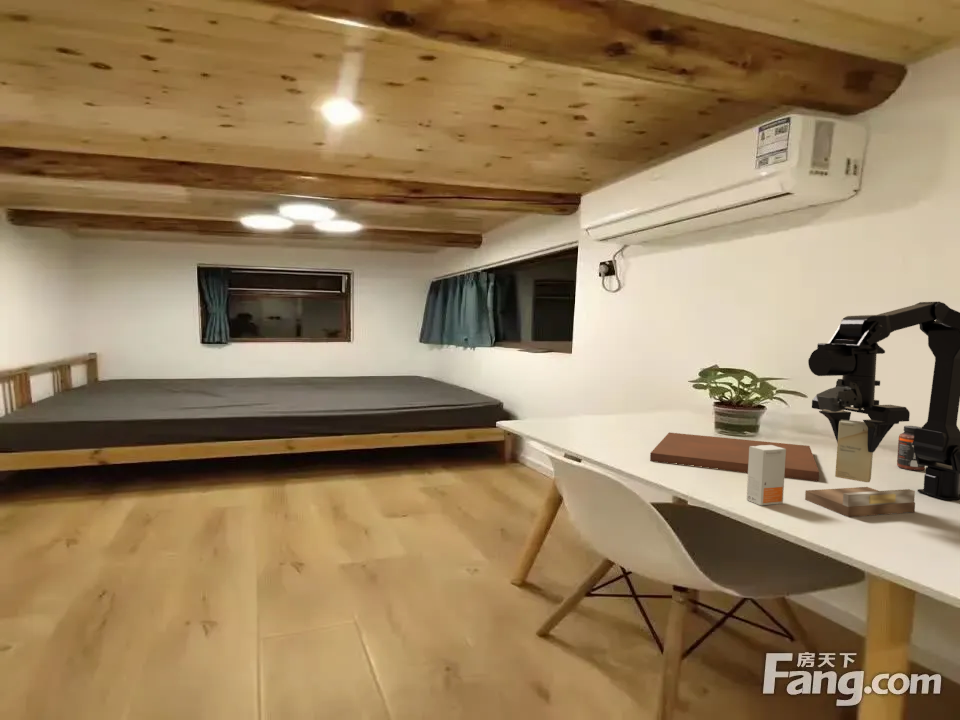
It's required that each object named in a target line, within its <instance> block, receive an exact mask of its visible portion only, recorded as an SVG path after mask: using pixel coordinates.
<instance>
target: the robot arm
mask: <svg viewBox="0 0 960 720" xmlns="http://www.w3.org/2000/svg"><path fill="white" fill-rule="evenodd" d="M914 326H919V330H921V332H923V333H924V334H925V336H927V345H928V348H929V350H930V351H931V353H932V355H933V356H934V368H933V375H932V382H931V389H930V390H931V391H930V399H929V406H928V413H927V420H926V422H925V423H924V425H922V426H920V427H921V428H916V429H915V430H914V440H913V443H912V445H914V453H915V456H916V460H917V464H919V465H924V466H925V474H924V476H923V477H924V478H923V488H919V489H917V492H918V493H921V494H925V495H927V496H929V497H930V496H931V497H934V498H937V499H940V500H944V501H953V500H960V429H959V427H958V425H957V423H958V416H959V409H960V311H957V310H955V309H952V307H951V308H950V307H949V305H947V304H946V303H945V302H942V301H920V302H918V303H916V304H912V305H909V306H904V307H901V308H898V309H893V310H890V311H886V312H883V313H879V314H866V315H865V314H864V315H847V316H845V317H844V318H842V319H841V322H840V324H839V325H838V327H837V329H836V330H835V332H834V333H833V335H832V336H831V337H830V339H829V340H828V341H827V343H826V342H821V343H819V342H818V343H817V347H816V349H815V350H813V351H812V352H811V354H810V356H809V358H808V361H807V362H808V368H809V370H810V372H811V373H812V374H813V375H815V376H817V377H835V376H837V377H838V376H840V377H842V378H837V380H836V382H835V383H836V384H835V386H834V387H831V388H829V389H825V390H824V391H821V392H819V393H817V394H816V395H815V396H814V397H813V398H812V400H811V409H815V410H818V412H819V414H822V415H823V416H824V417H825V418H827V420H828V421H829V423H830V425H831V429H832V431H833V434H834V436H835V440H836V443H838V431H839V421H840V420H841V419H842V420H850V419H851V415H852V412H853V413H854V412H855V413H858V414H865V415H867V416H868V418H869V419H862V422H864V423H865V424H866V425H867V427H868V452H873V453H875V452H876V450H877V449H878V447H879V445H880V444H881V442H882V441H883V439H884V438H885V436H886V435H887V434H888V433H889V431H891V429H892V428H893V427H894V426H895V425H899V424H900V423H902V422H910V415H911V413H910V410H909V409H908V408H907V407H906V406H901V405H893V404H880V400H879V399H875V395H876V394H875V392H876V390H875V389H876V386H881V380H877V379H876V374H877V373H876V372H877V370H876V369H877V368H876V367H877V354H878V355H879V354H880V355H882V354H885V353H886V350H885V349H884V348H883V347H881V346H880V345H879V342H881V341H884V340H885V339H888V337H889V336H891V335H890V334H891V333H893V332H895V331H896V332H897V331H899V330H903V329H906V328H910V327H914Z"/></svg>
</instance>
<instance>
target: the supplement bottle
mask: <svg viewBox="0 0 960 720" xmlns="http://www.w3.org/2000/svg"><path fill="white" fill-rule="evenodd" d="M921 427H922V426H916V425H903V431H904V432H902V433H900V434H898V435H899V436H898V443H897V444H898V445H897V459H896V466H897V467H898V468H900V469H903V470H904V469H905V470H909V471H915V472H917V471H919V472H920V470H921V471H924V470H926V466H924V465H919V464H917V460H916V456H915V453H914V445H912V443H913V440H914V430H915V429H916V428H921Z"/></svg>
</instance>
